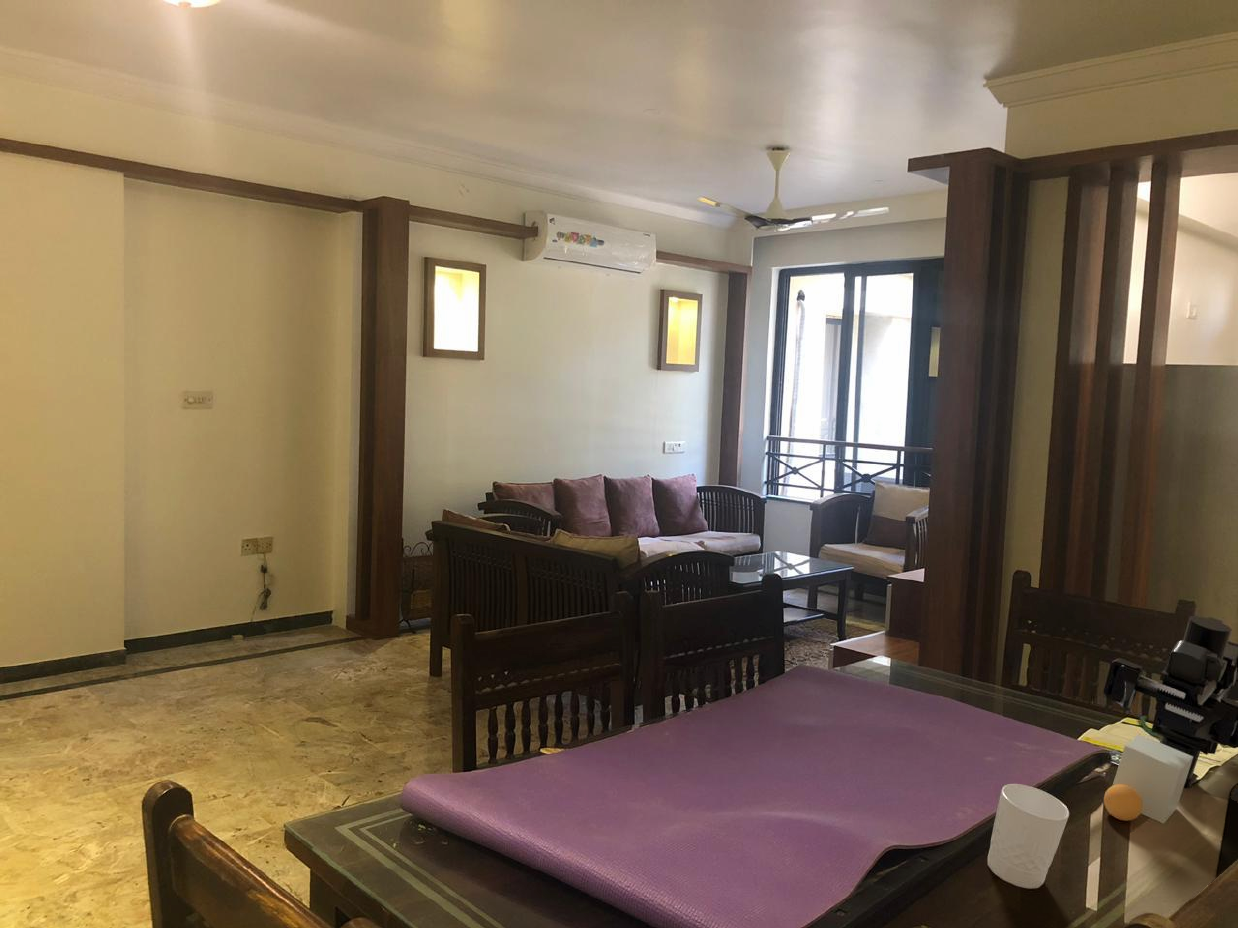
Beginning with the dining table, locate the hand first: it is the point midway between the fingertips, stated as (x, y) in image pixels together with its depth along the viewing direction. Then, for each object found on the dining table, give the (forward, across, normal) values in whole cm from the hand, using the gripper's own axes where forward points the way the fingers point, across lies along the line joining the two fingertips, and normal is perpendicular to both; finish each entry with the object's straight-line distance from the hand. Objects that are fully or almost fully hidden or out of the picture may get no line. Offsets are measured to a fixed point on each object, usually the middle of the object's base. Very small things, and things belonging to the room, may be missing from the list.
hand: (1158, 718), depth 135 cm
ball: (+2, -1, +14) cm, 14 cm away
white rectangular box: (-7, 0, +17) cm, 18 cm away
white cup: (+32, -5, +14) cm, 35 cm away
